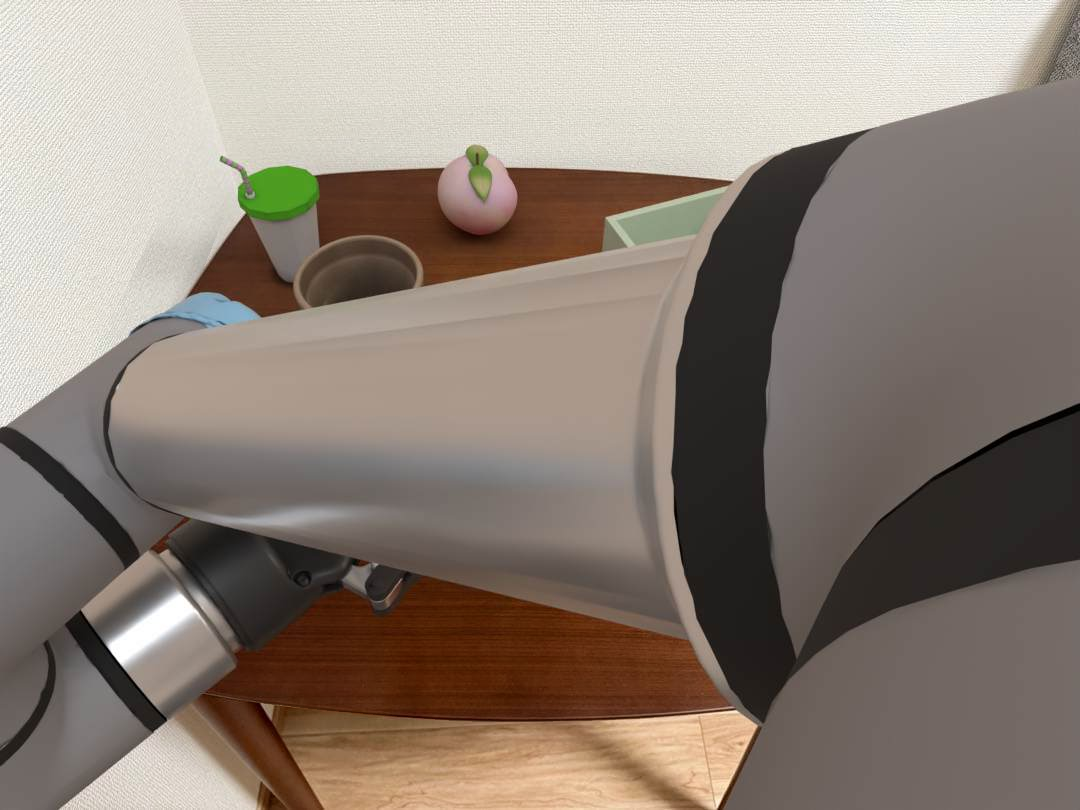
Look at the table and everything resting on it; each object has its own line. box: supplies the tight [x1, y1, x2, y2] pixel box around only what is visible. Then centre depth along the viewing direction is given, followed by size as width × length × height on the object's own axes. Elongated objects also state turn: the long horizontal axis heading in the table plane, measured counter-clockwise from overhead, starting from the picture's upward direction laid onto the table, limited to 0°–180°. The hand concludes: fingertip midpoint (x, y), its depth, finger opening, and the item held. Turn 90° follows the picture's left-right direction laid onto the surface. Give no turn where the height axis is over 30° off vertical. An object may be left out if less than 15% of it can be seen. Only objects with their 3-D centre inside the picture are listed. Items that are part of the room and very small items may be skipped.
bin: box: [601, 185, 729, 252], centre depth 80 cm, size 16×16×10 cm
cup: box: [219, 155, 321, 284], centre depth 82 cm, size 8×8×15 cm
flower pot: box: [292, 234, 426, 311], centre depth 76 cm, size 12×11×10 cm
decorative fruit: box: [437, 144, 518, 236], centre depth 89 cm, size 9×8×10 cm
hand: (523, 366), depth 52 cm, fingers closed on can, 6 cm apart
